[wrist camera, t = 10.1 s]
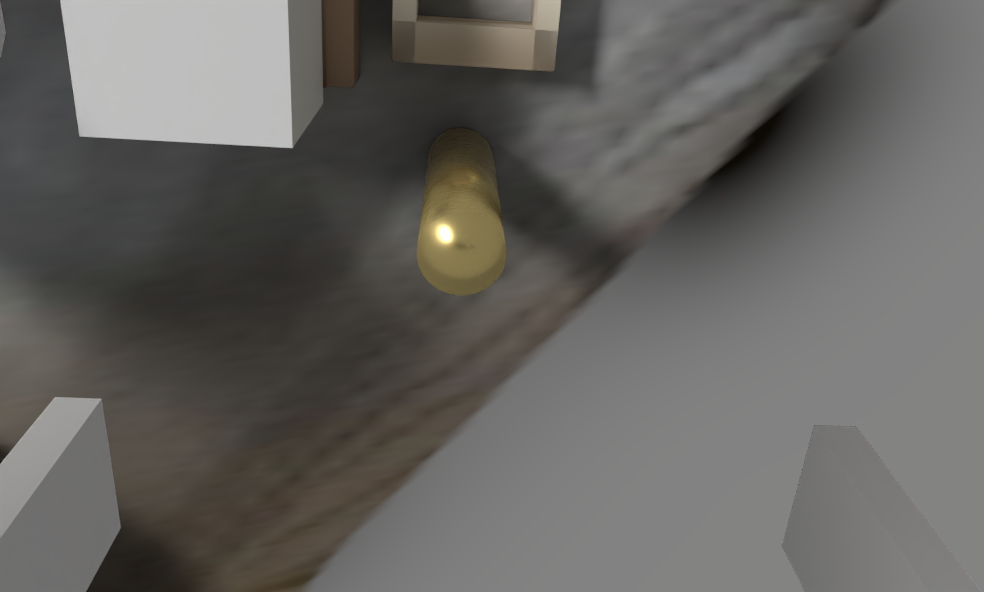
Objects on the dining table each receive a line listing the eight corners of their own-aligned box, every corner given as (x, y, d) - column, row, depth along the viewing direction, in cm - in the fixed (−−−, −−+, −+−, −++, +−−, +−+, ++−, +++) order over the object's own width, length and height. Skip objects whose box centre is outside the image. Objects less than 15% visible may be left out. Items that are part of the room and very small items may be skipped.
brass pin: (429, 125, 33) (418, 209, 24) (495, 129, 33) (509, 214, 24) (427, 189, 34) (415, 292, 25) (491, 193, 34) (503, 297, 25)
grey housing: (126, -131, 26) (40, -141, 21) (319, -117, 27) (283, -123, 21) (149, 93, 29) (79, 136, 24) (323, 103, 30) (292, 148, 24)
